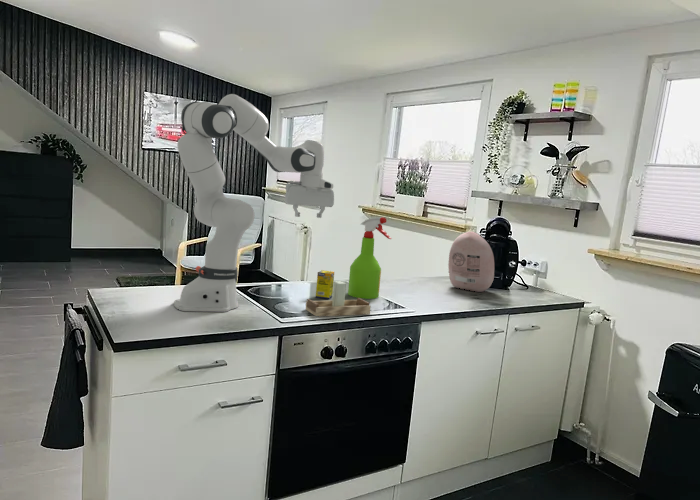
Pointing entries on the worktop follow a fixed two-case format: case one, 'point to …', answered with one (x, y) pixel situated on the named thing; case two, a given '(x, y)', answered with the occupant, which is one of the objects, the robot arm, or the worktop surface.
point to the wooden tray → (338, 308)
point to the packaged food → (471, 263)
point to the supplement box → (324, 284)
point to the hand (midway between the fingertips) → (308, 217)
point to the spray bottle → (367, 264)
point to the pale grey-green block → (339, 293)
